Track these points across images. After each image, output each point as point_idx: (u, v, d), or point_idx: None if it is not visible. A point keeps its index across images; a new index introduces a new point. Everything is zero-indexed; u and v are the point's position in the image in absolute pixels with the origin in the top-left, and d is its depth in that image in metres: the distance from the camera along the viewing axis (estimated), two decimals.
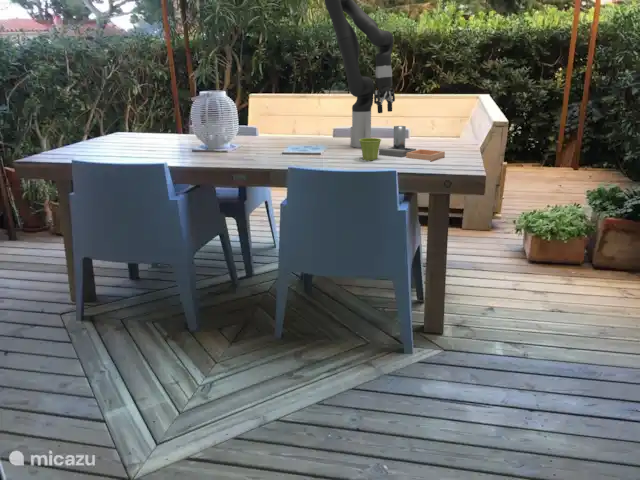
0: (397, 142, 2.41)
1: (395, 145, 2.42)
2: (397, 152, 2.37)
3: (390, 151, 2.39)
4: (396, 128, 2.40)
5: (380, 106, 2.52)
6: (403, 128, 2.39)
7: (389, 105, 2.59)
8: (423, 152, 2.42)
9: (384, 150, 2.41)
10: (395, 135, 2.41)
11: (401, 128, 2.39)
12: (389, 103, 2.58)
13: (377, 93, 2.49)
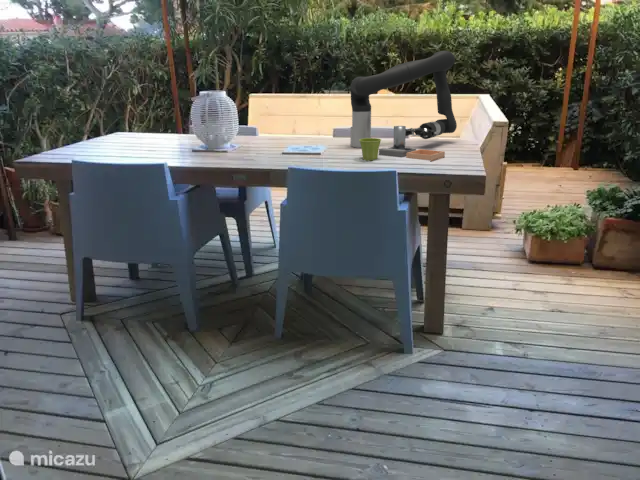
0: (397, 142, 2.41)
1: (395, 145, 2.42)
2: (397, 152, 2.37)
3: (390, 151, 2.39)
4: (396, 128, 2.40)
5: (425, 135, 2.50)
6: (403, 128, 2.39)
7: (408, 133, 2.55)
8: (423, 152, 2.42)
9: (384, 150, 2.41)
10: (395, 135, 2.41)
11: (401, 128, 2.39)
12: (409, 132, 2.56)
13: (435, 134, 2.53)
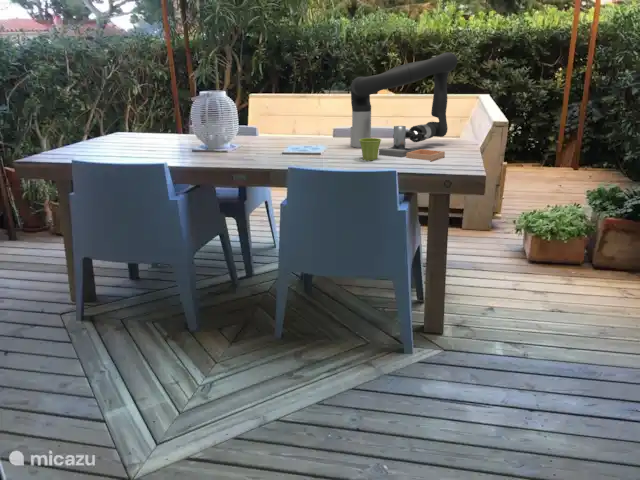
0: (397, 142, 2.41)
1: (395, 145, 2.42)
2: (397, 152, 2.37)
3: (390, 151, 2.39)
4: (396, 128, 2.40)
5: (415, 138, 2.44)
6: (403, 128, 2.39)
7: None
8: (423, 152, 2.42)
9: (384, 150, 2.41)
10: (395, 135, 2.41)
11: (401, 128, 2.39)
12: None
13: (425, 137, 2.47)
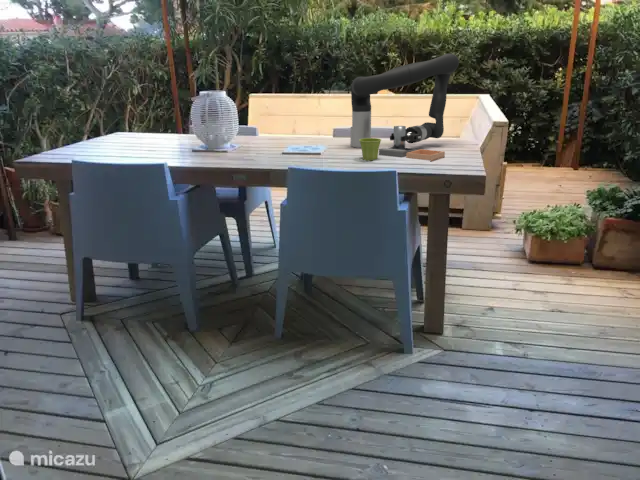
0: (397, 142, 2.41)
1: (395, 145, 2.42)
2: (397, 152, 2.37)
3: (390, 151, 2.39)
4: (396, 128, 2.40)
5: (406, 140, 2.41)
6: (403, 128, 2.39)
7: None
8: (423, 152, 2.42)
9: (384, 150, 2.41)
10: (395, 135, 2.41)
11: (401, 128, 2.39)
12: None
13: (419, 138, 2.44)
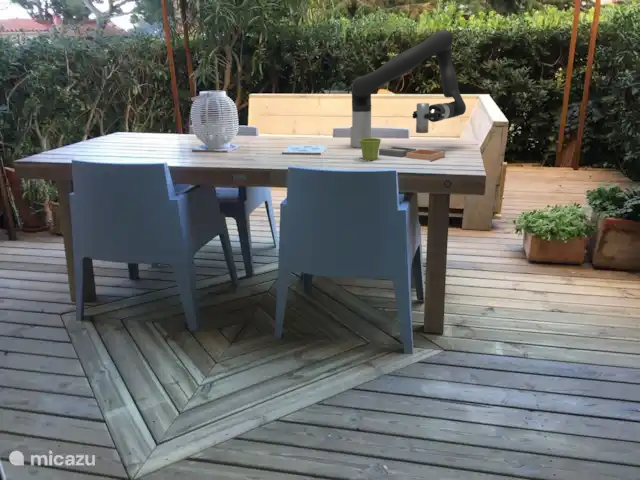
0: (420, 120, 2.31)
1: (418, 123, 2.32)
2: (397, 152, 2.37)
3: (390, 151, 2.39)
4: (419, 105, 2.29)
5: (430, 117, 2.31)
6: (427, 105, 2.29)
7: None
8: (423, 152, 2.42)
9: (384, 150, 2.41)
10: (418, 113, 2.31)
11: (425, 105, 2.28)
12: None
13: (443, 116, 2.33)
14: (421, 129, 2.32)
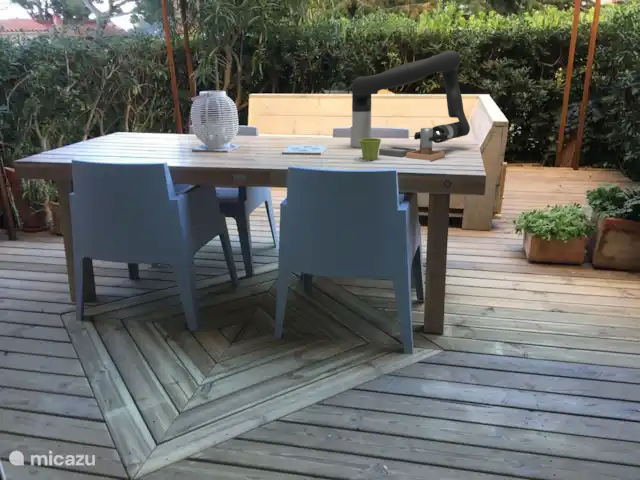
0: (424, 145, 2.32)
1: (422, 148, 2.33)
2: (397, 152, 2.37)
3: (390, 151, 2.39)
4: (423, 130, 2.30)
5: (437, 139, 2.31)
6: (430, 130, 2.30)
7: (419, 136, 2.36)
8: None
9: (384, 150, 2.41)
10: (422, 138, 2.32)
11: (428, 130, 2.30)
12: None
13: (448, 137, 2.34)
14: None
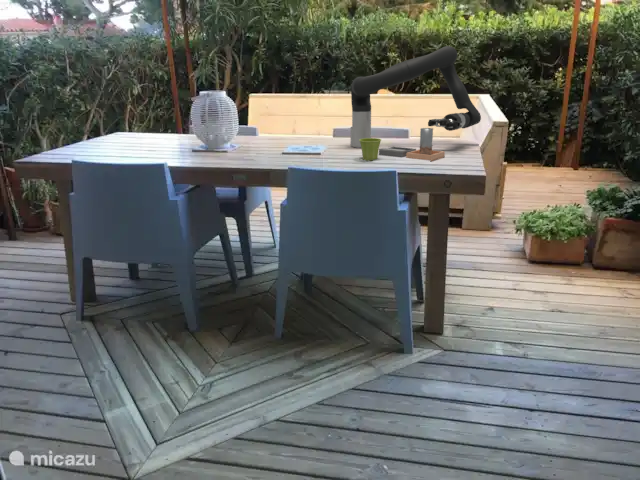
0: (424, 145, 2.32)
1: (422, 148, 2.33)
2: (397, 152, 2.37)
3: (390, 151, 2.39)
4: (423, 130, 2.30)
5: (450, 126, 2.40)
6: (430, 130, 2.30)
7: (432, 123, 2.45)
8: None
9: (384, 150, 2.41)
10: (422, 138, 2.32)
11: (428, 130, 2.30)
12: (433, 123, 2.46)
13: (460, 125, 2.43)
14: None
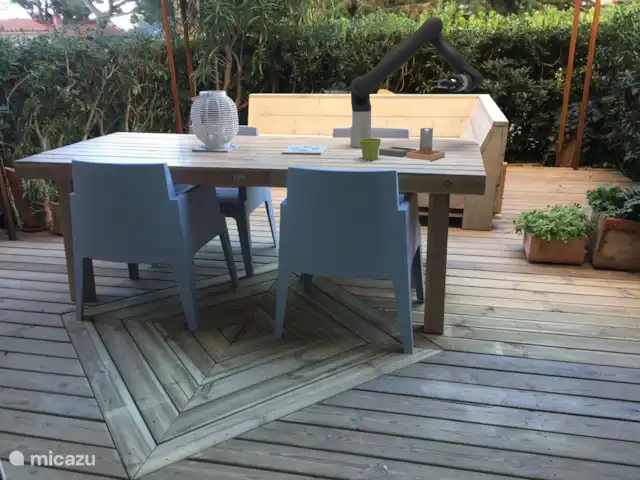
0: (424, 145, 2.32)
1: (422, 148, 2.33)
2: (397, 152, 2.37)
3: (390, 151, 2.39)
4: (423, 130, 2.30)
5: (453, 86, 2.37)
6: (430, 130, 2.30)
7: (434, 84, 2.42)
8: None
9: (384, 150, 2.41)
10: (422, 138, 2.32)
11: (428, 130, 2.30)
12: (435, 84, 2.43)
13: (463, 85, 2.41)
14: None
